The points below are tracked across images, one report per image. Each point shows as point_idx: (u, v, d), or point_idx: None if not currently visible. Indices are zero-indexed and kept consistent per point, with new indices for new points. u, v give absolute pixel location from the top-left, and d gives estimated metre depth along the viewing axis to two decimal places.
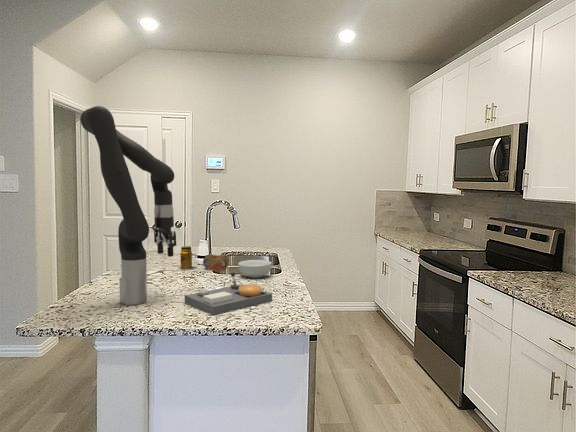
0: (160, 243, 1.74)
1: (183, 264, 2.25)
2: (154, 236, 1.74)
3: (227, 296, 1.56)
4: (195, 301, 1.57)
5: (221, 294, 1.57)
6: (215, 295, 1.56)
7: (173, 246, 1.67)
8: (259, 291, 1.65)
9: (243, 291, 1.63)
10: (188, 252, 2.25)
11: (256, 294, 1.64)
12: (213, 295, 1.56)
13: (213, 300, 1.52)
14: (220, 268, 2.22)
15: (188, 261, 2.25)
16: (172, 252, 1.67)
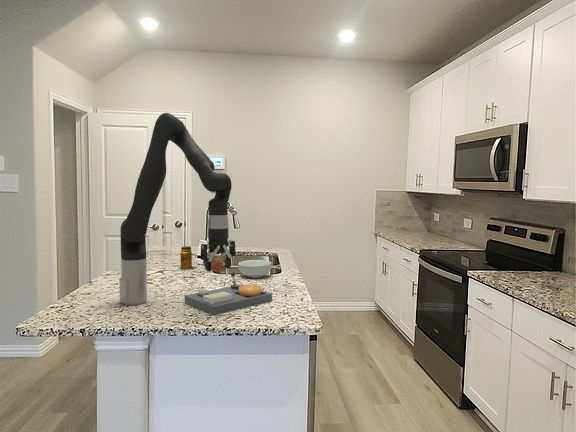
0: None
1: (183, 264, 2.25)
2: (204, 253, 1.50)
3: (227, 296, 1.56)
4: (195, 301, 1.57)
5: (221, 294, 1.57)
6: (215, 295, 1.56)
7: None
8: (259, 291, 1.65)
9: (243, 291, 1.63)
10: (188, 252, 2.25)
11: (256, 294, 1.64)
12: (213, 295, 1.56)
13: (213, 300, 1.52)
14: (220, 268, 2.22)
15: (188, 261, 2.25)
16: None
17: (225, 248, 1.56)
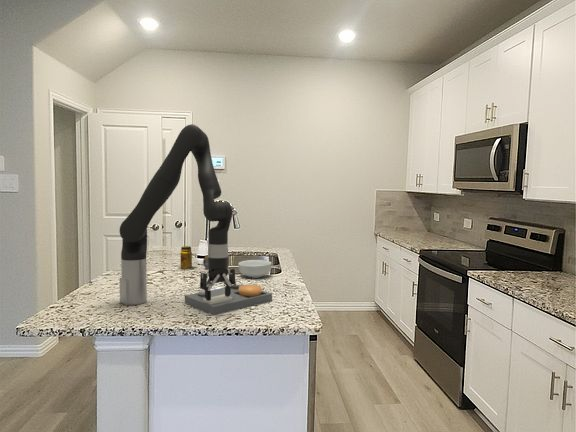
0: None
1: (183, 264, 2.25)
2: (204, 282, 1.51)
3: (227, 299, 1.57)
4: (195, 301, 1.57)
5: (221, 297, 1.57)
6: (215, 298, 1.56)
7: None
8: (259, 291, 1.65)
9: (243, 291, 1.63)
10: (188, 252, 2.25)
11: (256, 294, 1.64)
12: (213, 298, 1.56)
13: (213, 303, 1.52)
14: None
15: (188, 261, 2.25)
16: None
17: (225, 277, 1.56)
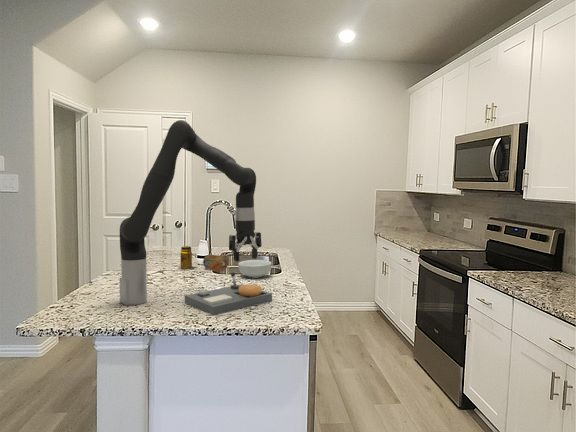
0: None
1: (183, 264, 2.25)
2: (233, 244, 1.58)
3: (227, 299, 1.57)
4: (195, 301, 1.57)
5: (221, 297, 1.57)
6: (215, 298, 1.56)
7: None
8: (259, 291, 1.65)
9: (243, 291, 1.63)
10: (188, 252, 2.25)
11: (256, 294, 1.64)
12: (213, 298, 1.56)
13: (213, 303, 1.52)
14: (220, 268, 2.22)
15: (188, 261, 2.25)
16: None
17: (252, 239, 1.63)
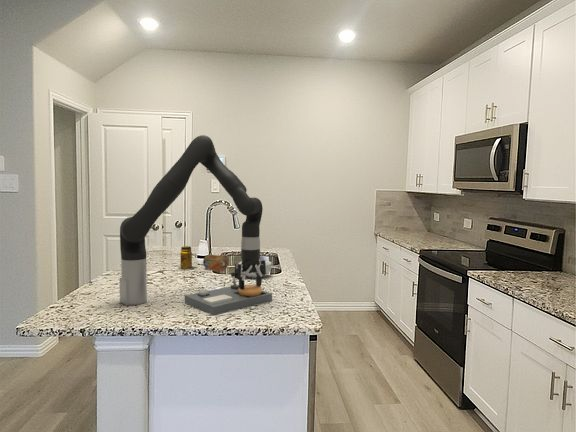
0: None
1: (183, 264, 2.25)
2: (238, 272, 1.61)
3: (227, 299, 1.57)
4: (195, 301, 1.57)
5: (221, 297, 1.57)
6: (215, 298, 1.56)
7: None
8: (259, 291, 1.65)
9: (243, 291, 1.63)
10: (188, 252, 2.25)
11: (256, 294, 1.64)
12: (213, 298, 1.56)
13: (213, 303, 1.52)
14: (220, 268, 2.22)
15: (188, 261, 2.25)
16: None
17: (257, 267, 1.67)
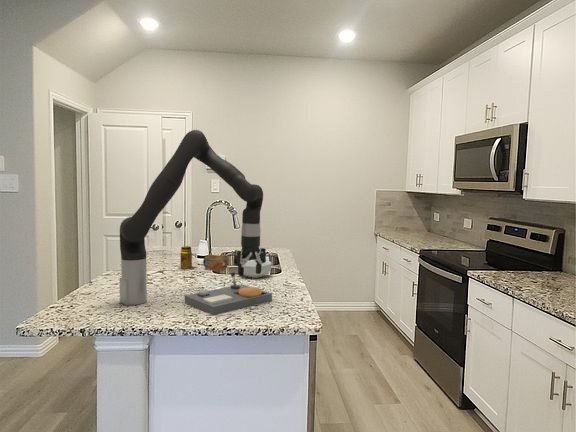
0: None
1: (183, 264, 2.25)
2: (238, 259, 1.60)
3: (227, 299, 1.57)
4: (195, 301, 1.57)
5: (221, 297, 1.57)
6: (215, 298, 1.56)
7: None
8: (259, 294, 1.65)
9: (243, 294, 1.63)
10: (188, 252, 2.25)
11: None
12: (213, 298, 1.56)
13: (213, 303, 1.52)
14: (220, 268, 2.22)
15: (188, 261, 2.25)
16: None
17: (256, 255, 1.66)
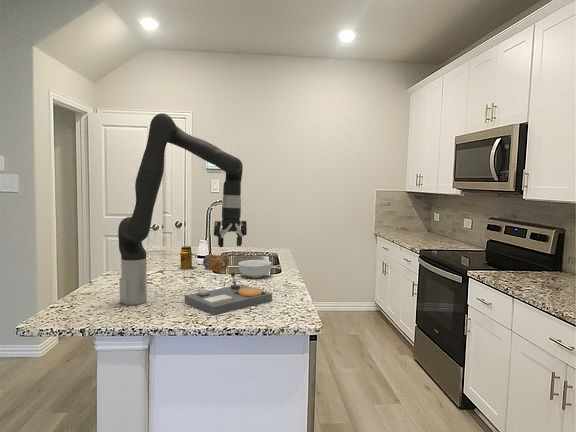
0: None
1: (183, 264, 2.25)
2: (217, 229, 1.63)
3: (227, 299, 1.57)
4: (195, 301, 1.57)
5: (221, 297, 1.57)
6: (215, 298, 1.56)
7: None
8: (259, 294, 1.65)
9: (243, 294, 1.63)
10: (188, 252, 2.25)
11: None
12: (213, 298, 1.56)
13: (213, 303, 1.52)
14: (220, 268, 2.22)
15: (188, 261, 2.25)
16: None
17: (237, 226, 1.68)
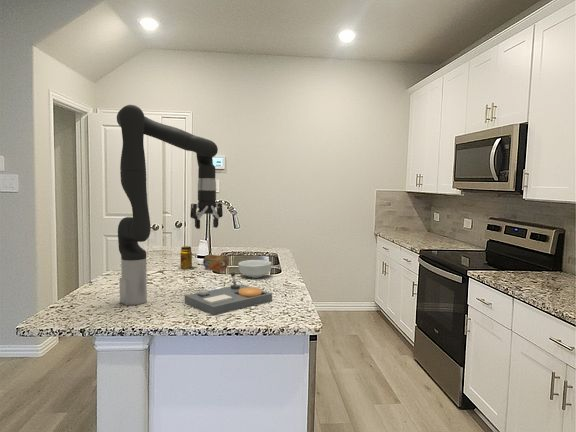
0: None
1: (183, 264, 2.25)
2: (194, 211, 1.69)
3: (227, 299, 1.57)
4: (195, 301, 1.57)
5: (221, 297, 1.57)
6: (215, 298, 1.56)
7: None
8: (259, 294, 1.65)
9: (243, 294, 1.63)
10: (188, 252, 2.25)
11: None
12: (213, 298, 1.56)
13: (213, 303, 1.52)
14: (220, 268, 2.22)
15: (188, 261, 2.25)
16: None
17: (213, 209, 1.74)
